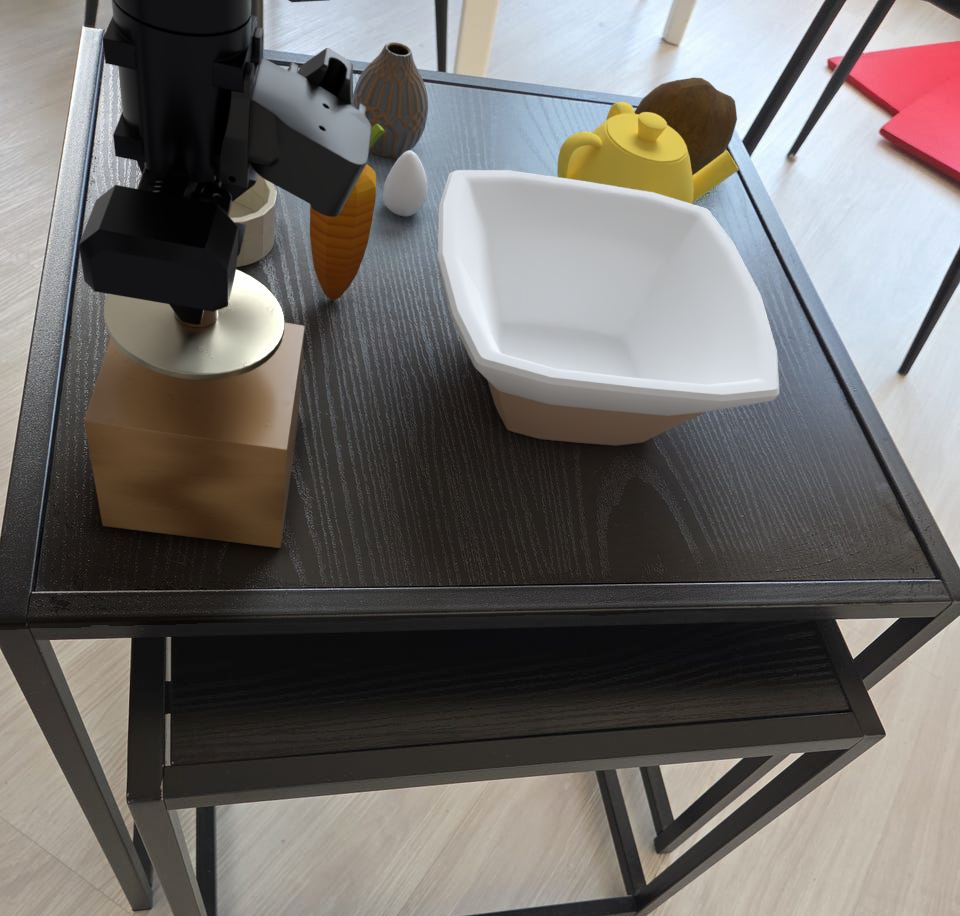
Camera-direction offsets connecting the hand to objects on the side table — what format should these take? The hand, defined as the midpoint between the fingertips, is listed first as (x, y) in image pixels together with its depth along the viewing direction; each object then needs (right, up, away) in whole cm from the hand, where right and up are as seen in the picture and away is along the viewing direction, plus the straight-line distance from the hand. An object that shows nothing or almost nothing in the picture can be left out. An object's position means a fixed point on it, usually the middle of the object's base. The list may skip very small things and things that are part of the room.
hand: (195, 306), depth 53 cm
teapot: (+29, +19, +37) cm, 51 cm away
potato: (+36, +31, +46) cm, 66 cm away
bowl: (+23, +1, +23) cm, 33 cm away
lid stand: (-2, -8, +10) cm, 13 cm away
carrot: (+4, +8, +23) cm, 25 cm away
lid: (0, -1, +1) cm, 1 cm away
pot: (-6, +15, +24) cm, 29 cm away
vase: (+7, +28, +37) cm, 47 cm away
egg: (+9, +20, +32) cm, 38 cm away
